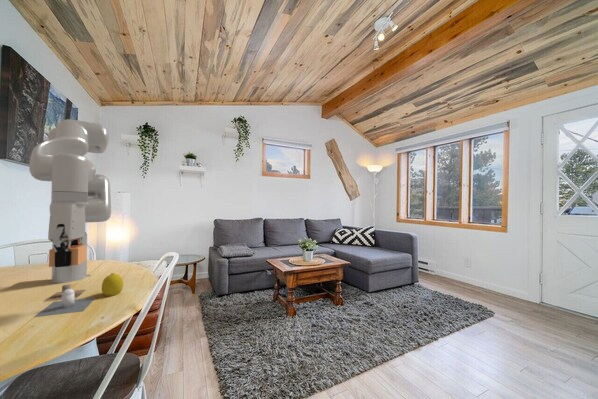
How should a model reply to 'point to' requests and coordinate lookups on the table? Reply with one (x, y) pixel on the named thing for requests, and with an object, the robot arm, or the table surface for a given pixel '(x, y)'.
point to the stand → (59, 294)
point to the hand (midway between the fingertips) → (68, 263)
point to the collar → (76, 255)
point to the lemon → (112, 285)
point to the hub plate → (59, 310)
